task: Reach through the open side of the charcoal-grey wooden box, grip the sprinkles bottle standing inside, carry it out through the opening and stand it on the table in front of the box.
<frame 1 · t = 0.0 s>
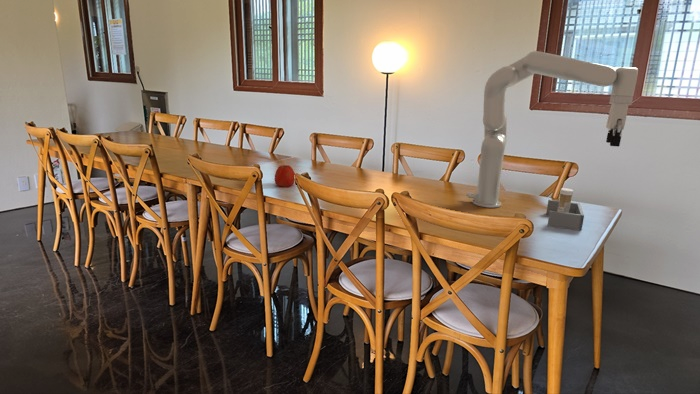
hand: (612, 144, 176), 31 cm above the table, tool pointing down, fingers open, 9 cm apart
open-side box: (562, 221, 180), on the table
sprinkles bottle: (561, 221, 180), on the table
apple: (285, 185, 221), on the table
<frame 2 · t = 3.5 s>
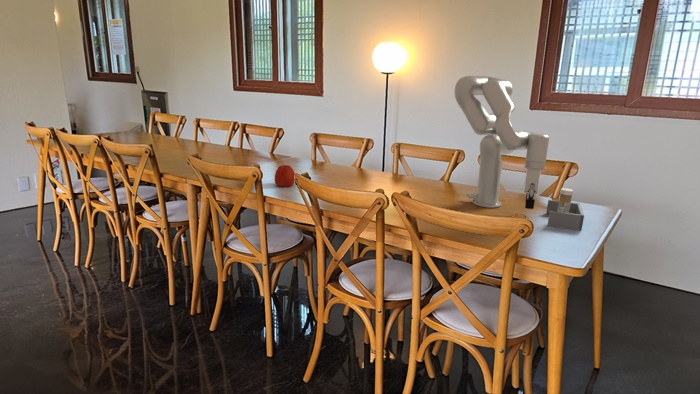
hand: (529, 205, 183), 5 cm above the table, tool pointing down, fingers open, 9 cm apart
nothing on the table moved.
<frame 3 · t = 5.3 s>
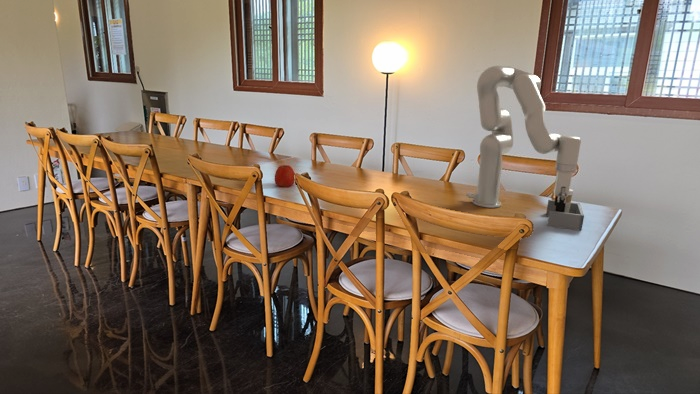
hand: (559, 208, 179), 5 cm above the table, tool pointing down, fingers open, 9 cm apart
nothing on the table moved.
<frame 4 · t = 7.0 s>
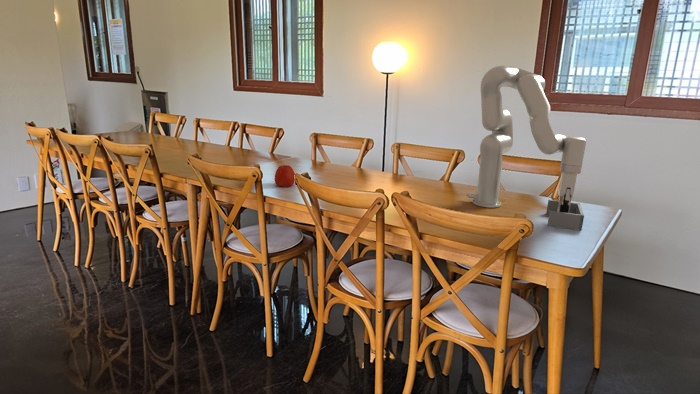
hand: (563, 212, 179), 4 cm above the table, tool pointing down, fingers closed on sprinkles bottle, 4 cm apart
sprinkles bottle: (561, 221, 180), on the table, touching gripper
everything else where it was.
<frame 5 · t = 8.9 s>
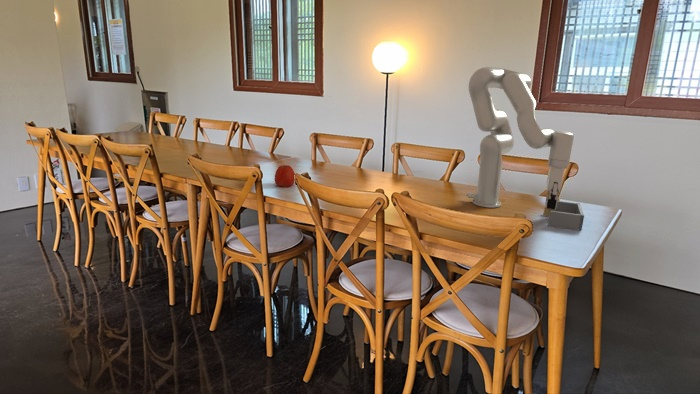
hand: (550, 206, 181), 5 cm above the table, tool pointing down, fingers closed on sprinkles bottle, 4 cm apart
sprinkles bottle: (548, 215, 182), point 1 cm above the table, touching gripper
everything else where it was.
when the fingers open (4 cm above the table, at t = 10.8 s): sprinkles bottle stays where it is, on the table.
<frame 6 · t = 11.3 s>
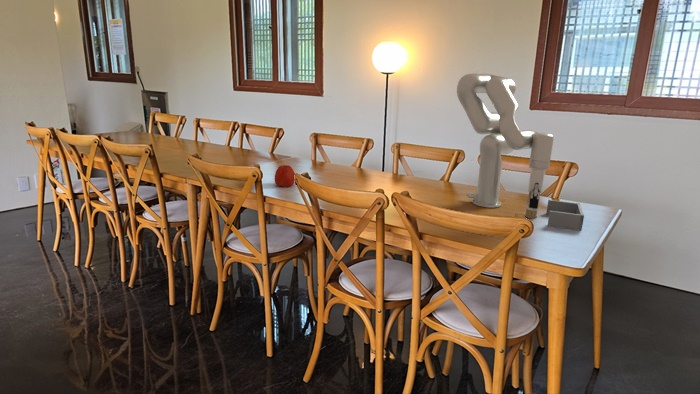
hand: (533, 204, 183), 5 cm above the table, tool pointing down, fingers open, 9 cm apart
sprinkles bottle: (530, 217, 184), on the table
everything else where it was.
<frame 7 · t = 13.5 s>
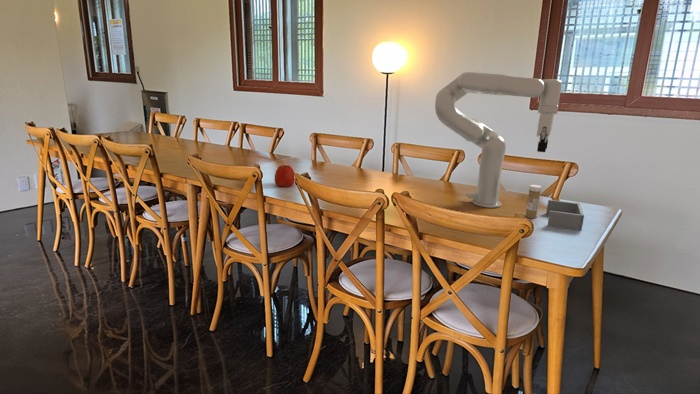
hand: (542, 150, 190), 26 cm above the table, tool pointing down, fingers open, 9 cm apart
nothing on the table moved.
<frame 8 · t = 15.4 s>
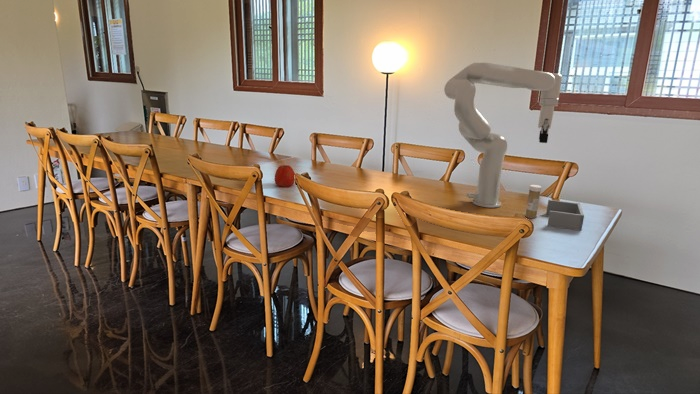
hand: (542, 141, 199), 28 cm above the table, tool pointing down, fingers open, 9 cm apart
nothing on the table moved.
at the end: sprinkles bottle inside the target area (0.6 cm from its centre), on the table; sprinkles bottle tilted 0°; the gripper is holding nothing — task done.
